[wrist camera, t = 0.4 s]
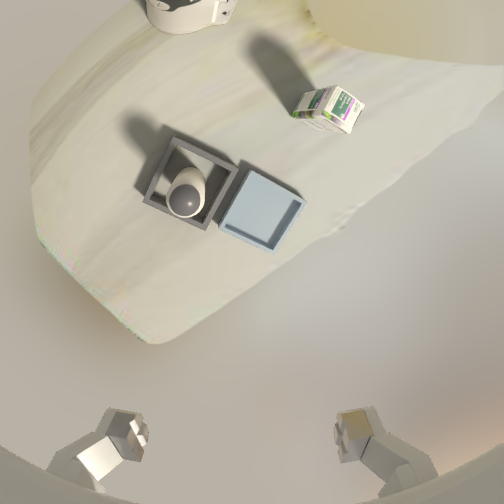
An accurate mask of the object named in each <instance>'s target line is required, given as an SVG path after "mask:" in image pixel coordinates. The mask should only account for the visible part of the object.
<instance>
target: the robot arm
mask: <svg viewBox="0 0 504 504" xmlns="http://www.w3.org/2000/svg"><path fill="white" fill-rule="evenodd" d="M145 1H146V6H147V16H148V19H149V21H150V22H151V23H152V24H153V25H154V26H155V27H156V28H158V29H159V30H162V31H164V32H168V33H173V34H184V33H190V32H194V31H197V30H200V29H202V28H205V27H207V26H210V25H221V24H225V23H227V22H228V21H229V19H230V17H231V15H232V12H233V10H234V8H235V6H236V4H237V2H238V0H145ZM224 12H225V13H227V14H226V15H223V14H222V13H224ZM142 420H143V417H142V415H141V413H135V412H130V411H125V410H120V409H115V408H108V409H107V410H106V412H105V413H104V416H103V417H102V419H101V421H100V423H99V425H98V427H97V429H96V431H95V432H91V433H89V434H87V435H86V436H84V437H82V438H80V439H79V440H77V441H75V442H74V443H72V444H70V445H69V446H66V447H65V448H63V449H61V450H59V451H57V452H56V454H55V455H54V457H53V459H52V461H51V462H50V464H49V466H48V468H47V470H46V471H45V470H43V469H41V468H39V467H37V466H35V465H33V464H31V463H29V462H27V461H26V460H24V459H22V458H20V457H18V456H17V455H15V454H13V453H12V452H10V451H8V450H7V449H5V448H4V447H2V446H1V445H0V504H138V503H134V502H130V501H126V500H122V499H119V498H115V497H112V496H109V495H105V491H106V490H105V488H104V487H103V486H102V485H101V484H100V483H99V482H98V481H99V480H100V479H101V478H102V477H103V476H105V475H106V474H107V473H108V472H109V471H111V470H112V469H113V468H114V467H116V466H117V465H118V464H119V463H120V462H121V461H123V459H126V460H132V461H137V462H141V459H142V456H143V453H144V450H143V448H142V446H144V445H145V444H147V441H148V433H149V432H148V428H147V425H146V424H145V423H143V422H142ZM337 421H338V422H337V423H336V424H335V427H334V438H335V442H336V444H337V445H338V446H339V449H338V455H339V458H340V462H341V463H346V462H351V461H357V460H360V461H361V462H362V463H363V464H364V465H366V466H367V467H368V468H369V469H370V470H371V471H373V472H374V473H375V474H376V475H378V477H380V478H381V479H382V480H383V481H385V482H386V484H385V485H384V486H383V488H382V489H381V490H380V492H379V493H378V496H379V498H378V499H374V500H371V501H367V502H363V503H359V504H504V444H499V445H497V446H495V447H493V448H492V449H490V450H489V451H487V452H485V453H484V454H482V455H480V456H478V457H477V458H475V459H473V460H471V461H470V462H467V463H466V464H464V465H462V466H460V467H458V468H456V469H454V470H452V471H450V472H448V473H445V474H443V475H441V476H438V474H437V471H436V469H435V467H434V465H433V463H432V461H431V459H430V457H429V455H427V454H426V453H424V452H422V451H420V450H419V449H417V448H415V447H413V446H411V445H410V444H408V443H406V442H405V441H403V440H401V439H399V438H398V437H396V436H395V435H393V434H391V433H390V432H389V433H386V431H385V429H384V427H383V425H382V422H381V420H380V418H379V416H378V413H377V411H376V409H375V408H374V406H370V407H365V408H358V409H353V410H348V411H342V412H339V413H338V414H337Z"/></svg>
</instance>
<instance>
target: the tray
mask: <svg viewBox="0 0 504 504" xmlns="http://www.w3.org/2000/svg"><path fill="white" fill-rule="evenodd" d="M306 204H307V201H305V200H304V199H303V198H301V197H299V196H298V195H296V194H294V193H292V192H291V191H289V190H287V189H285V188H284V187H282V186H280V185H278V184H277V183H275V182H273V181H271V180H269V179H268V178H266V177H264V176H262V175H260V174H259V173H257V172H255V171H253V170H251V169H249V171H248V172H247V174H246V176H245V178H244V179H243V181H242V183H241V185H240V186H239V188H238V190H237V192H236V194H235V195H234V197H233V199H232V201H231V202H230V204H229V206H228V208H227V210H226V211H225V213H224V215H223V217H222V219H221V221H220V222H219V224H218V229H219V230H222V231H224V232H226V233H228V234H230V235H232V236H234V237H236V238H239V239H241V240H243V241H245V242H247V243H249V244H251V245H254V246H256V247H258V248H260V249H262V250H264V251H266V252H268V253H271V254H273V255H275V253H276V252H277V250H278V249H279V247H280V245H281V244H282V242H283V241H284V239H285V238H286V236H287V234H288V233H289V231H290V230H291V228H292V226H293V225H294V223H295V222H296V220H297V218H298V217H299V215H300V213H301V212H302V210H303V209H304V207H305V205H306Z"/></svg>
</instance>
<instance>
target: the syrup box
mask: <svg viewBox="0 0 504 504" xmlns="http://www.w3.org/2000/svg"><path fill="white" fill-rule="evenodd" d="M364 106H365V105H364V104H363V103H362V102H360V101H359V100H358V99H356V98H355V97H353V96H352V95H351V94H349V93H348V92H346V91H345V90H343V89H342V88H340V87H339V86H337V85H335V86H330V87H326V88H322V89H318V90H314V91H310V92H306V93H303V95H302V97H301V98H300V100H299V102H298V104H297V106H296V107H295V109H294V111H293V113H292V115H291V117H293V118H295V119H297V120H299V121H301V122H302V123H304V124H306V125H308V126H309V127H311V128H313V129H315V130H323V131H332V132H341V133H349V134H350V133H351V130H352V128H353V127H354V125H355V123H356V121H357V120H358V118H359V116H360V114H361V112H362V110H363V108H364Z"/></svg>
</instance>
